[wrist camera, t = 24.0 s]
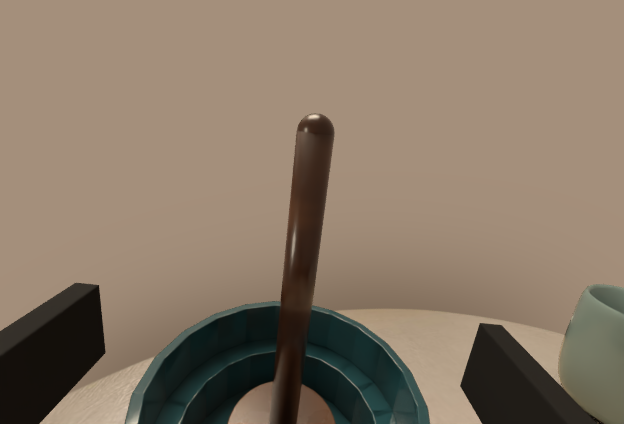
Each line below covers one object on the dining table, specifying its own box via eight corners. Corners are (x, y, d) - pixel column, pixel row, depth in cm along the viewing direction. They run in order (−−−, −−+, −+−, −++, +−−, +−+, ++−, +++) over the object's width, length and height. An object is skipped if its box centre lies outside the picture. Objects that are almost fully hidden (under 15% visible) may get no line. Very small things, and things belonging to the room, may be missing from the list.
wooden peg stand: (215, 543, 14) (231, 95, 8) (229, 416, 20) (243, 107, 14) (342, 524, 15) (428, 122, 10) (319, 410, 21) (364, 123, 16)
